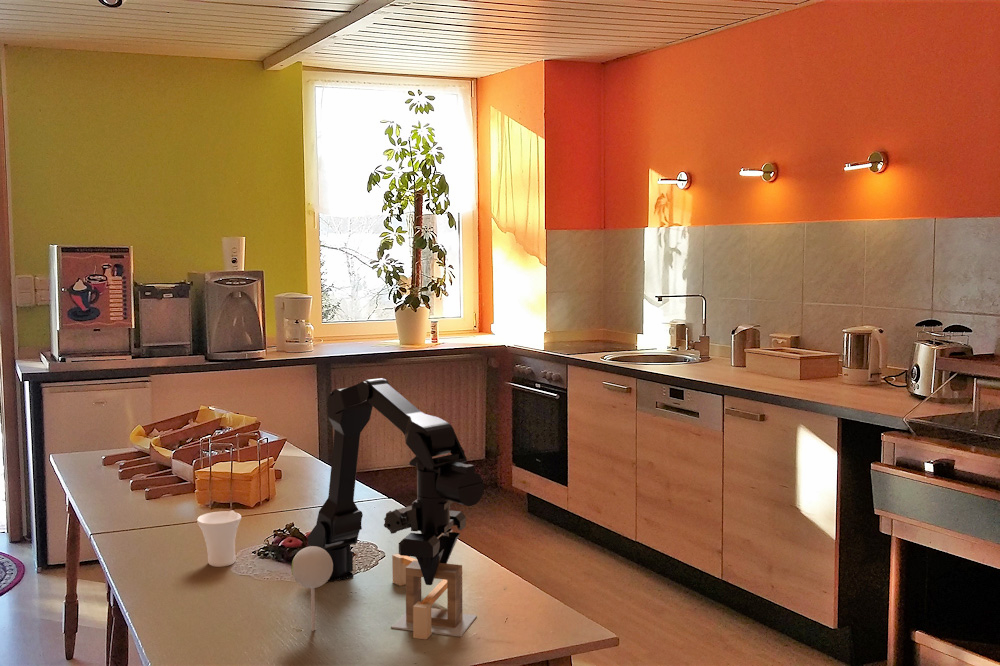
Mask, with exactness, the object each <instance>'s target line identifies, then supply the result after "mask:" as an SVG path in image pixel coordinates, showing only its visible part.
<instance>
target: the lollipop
mask: <svg viewBox="0 0 1000 666" xmlns="http://www.w3.org/2000/svg"><path fill="white" fill-rule="evenodd" d="M290 569H291V575H292V577H293V579H294V581H295V582H296V583H297V585H299V586H301V587H302V588H306V589H310V607H311V608H310V611H311V613H310V615H311V616H310V617H311V631H312V632H315V631H316V598H315V597H316V594H315V592H316V591H315V589H316V588H319V587H321V586H323V585H325V584H326V583H328V582H327V581H328V580H329V578H330V576H331V574H332V571H333V562H332V559H331V557H330V555H329V554H328V552H327V551H326V550H324V549H322V548H320V547H317V546H309V545H308V546H306V547H304V548H301V549H300V550H299V551H297V552H296V554H295V556H294V557H293V559H292V561H291V567H290ZM314 630H315V631H314Z"/></svg>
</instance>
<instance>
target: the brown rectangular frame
mask: <svg viewBox="0 0 1000 666" xmlns="http://www.w3.org/2000/svg"><path fill="white" fill-rule="evenodd" d="M416 560H417V559H416ZM416 560H414V561H412V562H411V563H410V564H409V565H408V566H407V567H406V584H405V612H406V622H410V623H413V606H414V605H415V604H416V603H417V602H418V601H420V602H422V578H424V577H423V574H422V571H421V568H420V565H419V563H418V561H416ZM435 579H437V580H443V579H444V580H447V589H446V593H447V596H446V597H447V609H442V608H436V607H435V608H433V607H431V625H434V626H443V627H451V628H456V627H457V625H458V624H459V623H460V622H461V620H462V614H463V565H462V564H454V563H447V564H446V563H439V566H438V569H437V572H436V575H435V578H434V580H435Z"/></svg>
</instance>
